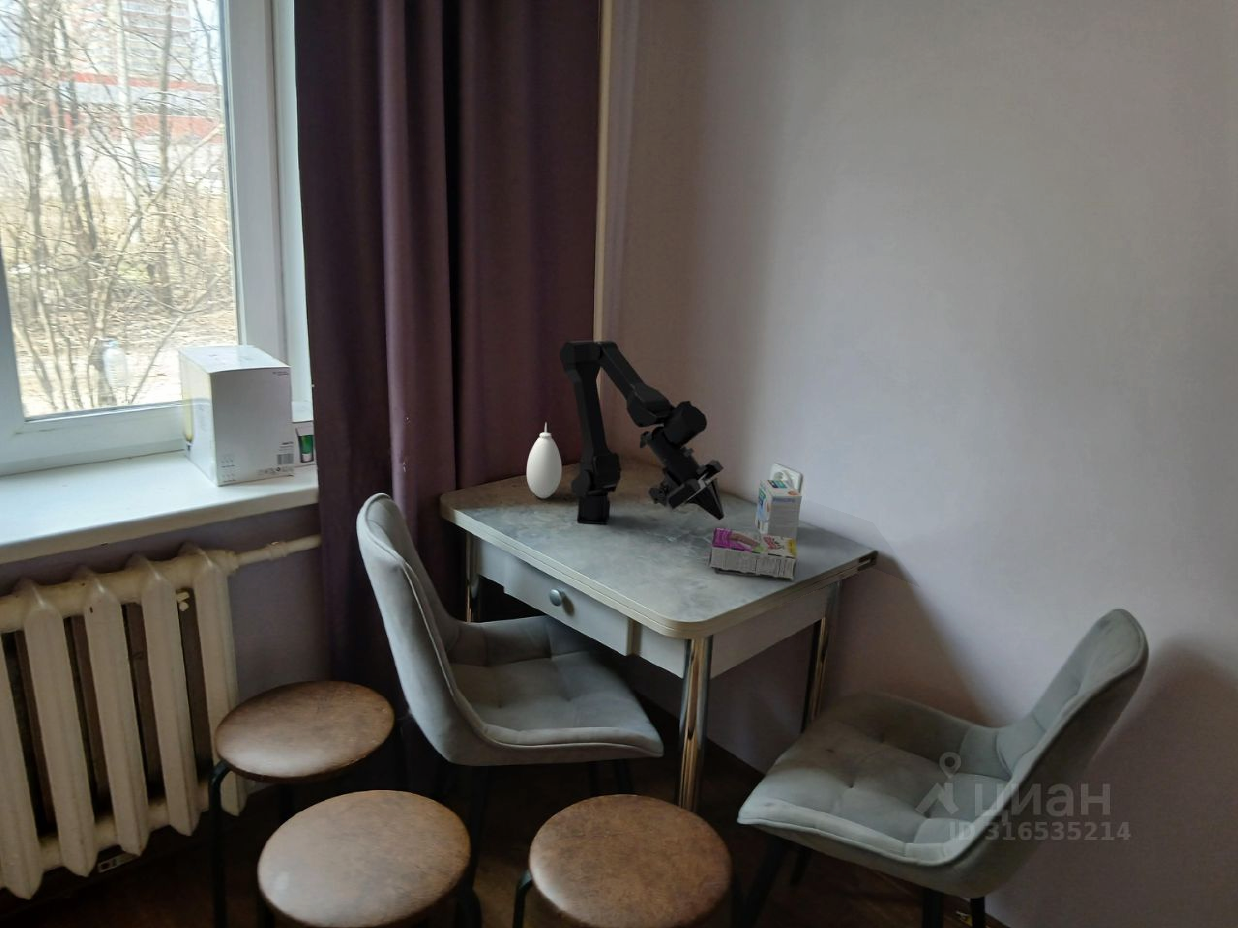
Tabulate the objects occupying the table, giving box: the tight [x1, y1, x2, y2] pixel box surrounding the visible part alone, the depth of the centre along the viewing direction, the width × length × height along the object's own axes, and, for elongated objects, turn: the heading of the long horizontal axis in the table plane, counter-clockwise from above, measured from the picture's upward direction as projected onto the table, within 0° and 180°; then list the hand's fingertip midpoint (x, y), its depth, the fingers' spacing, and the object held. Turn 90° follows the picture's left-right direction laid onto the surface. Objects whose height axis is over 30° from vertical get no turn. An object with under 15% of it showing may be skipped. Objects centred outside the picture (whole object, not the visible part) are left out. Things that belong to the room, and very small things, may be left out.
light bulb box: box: [754, 479, 803, 542], centre depth 188 cm, size 11×7×11 cm, turn 5°
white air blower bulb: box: [526, 422, 562, 499], centre depth 200 cm, size 8×8×18 cm
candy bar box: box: [708, 526, 798, 581], centre depth 171 cm, size 11×5×16 cm
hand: (721, 518), depth 168 cm, fingers closed
